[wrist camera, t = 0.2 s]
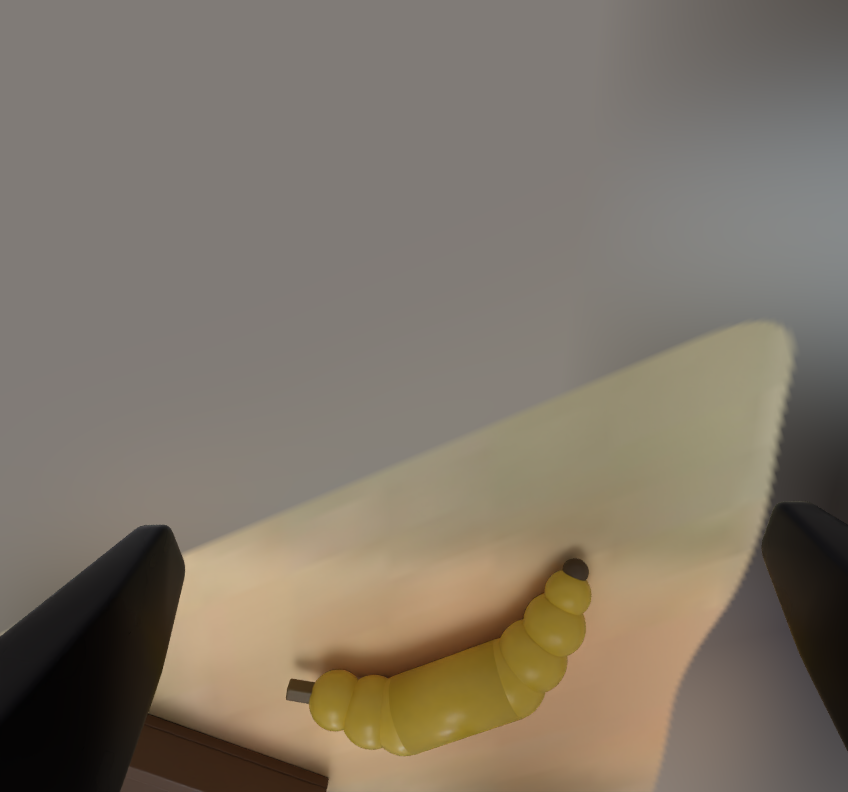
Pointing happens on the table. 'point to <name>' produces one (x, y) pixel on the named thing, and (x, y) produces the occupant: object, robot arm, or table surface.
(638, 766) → the table surface
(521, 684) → the banana
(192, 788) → the tray
